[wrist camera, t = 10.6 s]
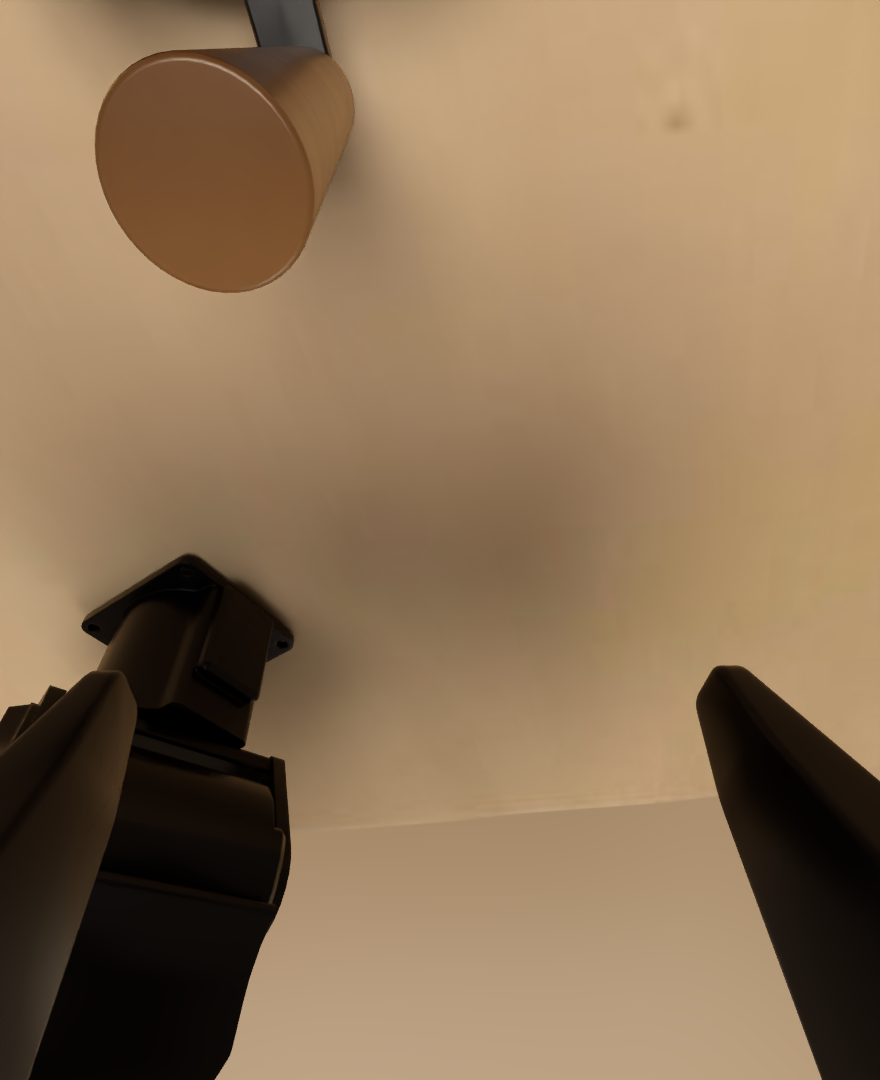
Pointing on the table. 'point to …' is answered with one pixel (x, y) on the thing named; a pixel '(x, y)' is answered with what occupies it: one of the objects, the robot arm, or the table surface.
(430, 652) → the table surface
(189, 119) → the dish rack
